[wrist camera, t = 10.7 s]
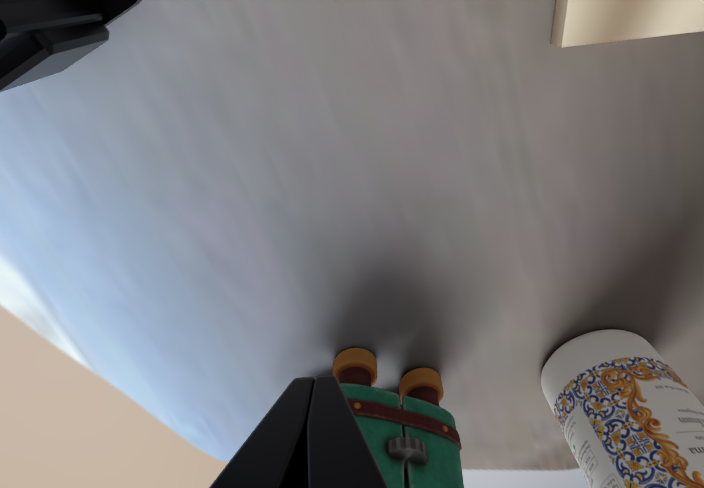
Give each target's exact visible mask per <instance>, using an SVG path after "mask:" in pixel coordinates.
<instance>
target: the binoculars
mask: <svg viewBox="0 0 704 488" xmlns="http://www.w3.org/2000/svg"><path fill="white" fill-rule="evenodd" d="M333 375H334V376H335V377H336V378H337V380H338V383H339V385H340V387H341V389H342V391H343V393H344V395H345V397H346V399H347V401H348V404H349V406H350V408H351V410H352V412H353V414H354V416H355V418H356V420H357V423H358V425H359V427H360V429H361V431H362V433H363V435H364V437H365V439H366V442H367V444H368V446H369V448H370V450H371V452H372V454H373V456H374V458H375V461H376V463H377V465H378V467H379V469H380V471H381V473H382V475H383V477H384V479H385V482H386V484H387V486H388V488H464V485H463V478H462V469H461V461H460V453H459V451H460V450H461V443H460V438H459V434H458V432H457V430H456V427H455V421H454V418H453V416H452V415H451V414H450V413H449V412H448V411H446V410H445V409H443V408H441V407H439V402H440V401H441V399H442V397H443V388H442V382H441V378H440V375H439V374H438V373H437V372H436V371H434V370H433V369H429V368H417V369H414V370H412V371H410V372H408V373H407V374H406V375H405V376H404V377H403V378H402V380H401V382H400V385H399V393H400V398H399V395H398V394H396V393H393V392H390V391H387V390H383V389H379V388H375V387H371V386H372V385H373V384H374V383H375V382H376V380H377V361H376V358H375V357H374V355H373V354H372V353H371V352H369V351H367V350H365V349H362V348H350V349H347V350H344V351H342V352H341V353H340V354H338V356H337V357H336V358H335V360H334V363H333ZM400 401H401V404H400Z"/></svg>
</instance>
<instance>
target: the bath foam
mask: <svg viewBox="0 0 704 488" xmlns="http://www.w3.org/2000/svg"><path fill="white" fill-rule="evenodd" d="M541 386H542V390H543V392H544V394H545V396H546V399H547V401H548V403H549V405H550V407H551V409H552V411H553V413H554V415H555V417H556V420H557V422H558V424H559V426H560V428H561V430H562V432H563V434H564V436H565V438H566V440H567V442H568V444H569V446H570V448H571V450H572V452H573V454H574V456H575V458H576V460H577V462H578V464H579V466H580V468H581V470H582V472H583V474H584V476H585V478H586V480H587V483H588V484H589V487H590V488H704V406H703V405H702V404H701V403H700V401H699V400H698V399H697V398H696V397H695V396H694V394H693V393H692V392H691V391H690V390H689V389H688V387H687V386H686V385H685V384H684V383H683V381H682V380H681V379H680V378H679V377H678V376H677V374H676V373H675V372H674V371H673V370H672V369H671V368H670V367H669V366H668V364H667V363H666V362H665V361H664V360H663V358H662V357H661V356H660V355H659V354H658V353H657V351H656V350H655V349H654V348H653V347H652V346H651V345H650V344H649V343H648V342H647V341H646V340H645V339H644V338H642V337H641V336H639V335H637V334H635V333H632V332H628V331H624V330H615V329H609V330H599V331H594V332H590V333H586V334H583V335H581V336H578V337H576V338H574V339H572V340H570V341H568V342H567V343H565V344H564V345H562V346H561V347H559V348H558V349H557V350H556V351H555V352H554V353H553V354H552V355H551V357H550V358H549V360H548V361H547V362H546V364H545V366H544V368H543V370H542V373H541Z"/></svg>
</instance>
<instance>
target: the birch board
mask: <svg viewBox="0 0 704 488" xmlns="http://www.w3.org/2000/svg"><path fill="white" fill-rule="evenodd" d="M700 31H704V0H556V5H555V13H554V21H553V29H552V37H551V44H552V45H555V46H559V47H569V46H578V45H587V44H595V43H604V42H613V41H621V40H630V39H639V38H647V37H656V36H665V35H674V34H682V33H691V32H700Z"/></svg>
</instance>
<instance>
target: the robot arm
mask: <svg viewBox="0 0 704 488" xmlns="http://www.w3.org/2000/svg"><path fill="white" fill-rule="evenodd" d="M140 2H141V0H0V92H2V91H5V90H8V89H11V88H14V87H17V86H20V85H23V84H26V83H29V82H32V81H35V80H37V79H40V78H43V77H46V76H49V75H52V74H55V73H58V72H61V71H63V70H65V69H66V68H68V67H69V66H71V65H72V64H74V63H75V62H76V61H78V60H79V59H81V58H82V57H84V56H85V55H87V54H88V53H90V52H91V51H93V50H94V49H96V48H97V47H99V46H100V45H102V44H103V43H104V42H106V41H107V40H108V39H109V31H108V29H107V28H106V26H107V25H109V24H110V23H111V22H113V21H114V20H116V19H117V18H119V17H120V16H122V15H123V14H124V13H126V12H127V11H129V10H130V9H132V8H133V7H135V6H136V5H138V4H139V3H140ZM210 488H388V486H387V484H386V482H385V479H384V477H383V475H382V473H381V471H380V469H379V467H378V465H377V463H376V461H375V458H374V456H373V454H372V452H371V450H370V448H369V446H368V444H367V442H366V439H365V437H364V435H363V433H362V431H361V429H360V427H359V425H358V423H357V420H356V418H355V416H354V414H353V412H352V410H351V408H350V406H349V404H348V401H347V399H346V397H345V395H344V393H343V391H342V389H341V387H340V385H339V383H338V380H337V378H336V377H335V376H334V375H325V376H317V377H316V378H315V379H314V378H313V377H302V378H295V379H294V380H293V381H292V382H291V383H290V385H289V386H288V387H287V388H286V390H285V391H284V392H283V394H282V395H281V396H280V397H279V399H278V400H277V401H276V403H275V404H274V405H273V406H272V408H271V409H270V410H269V412H268V413H267V414H266V415H265V417H264V418H263V419H262V421H261V422H260V423H259V424H258V426H257V427H256V428H255V430H254V431H253V432H252V433H251V435H250V436H249V437H248V439H247V440H246V441H245V442H244V444H243V445H242V446H241V448H240V449H239V450H238V451H237V453H236V454H235V455H234V456H233V458H232V459H231V460H230V462H229V463H228V464H227V465H226V467H225V468H224V469H223V471H222V472H221V473H220V474H219V476H218V477H217V479H216V480H215V481H214V482H213V484H212V485H211V486H210Z"/></svg>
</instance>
